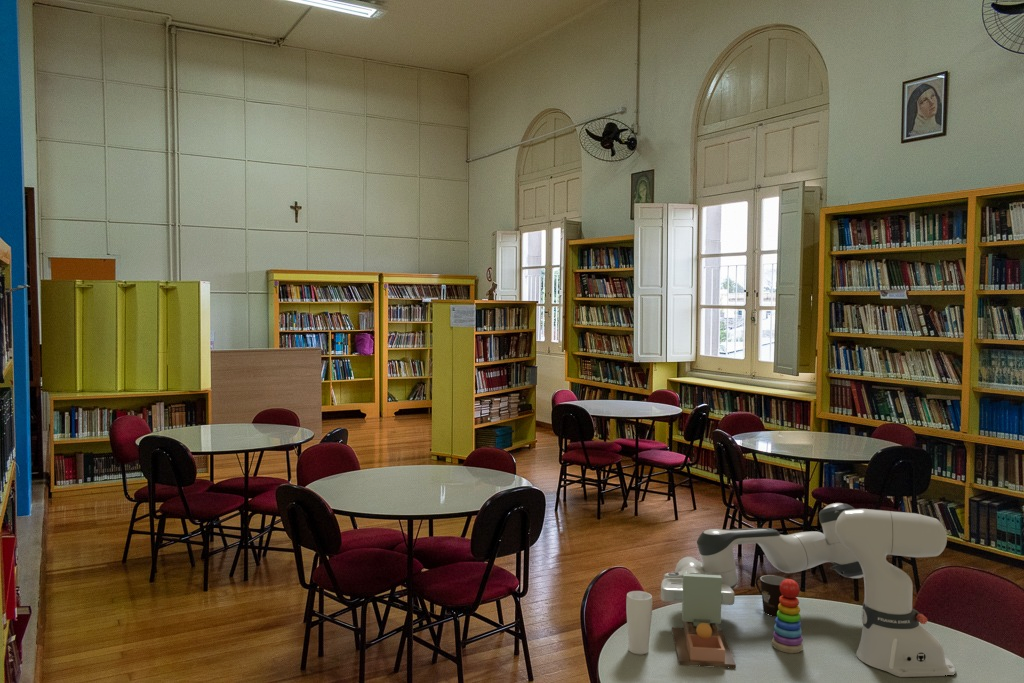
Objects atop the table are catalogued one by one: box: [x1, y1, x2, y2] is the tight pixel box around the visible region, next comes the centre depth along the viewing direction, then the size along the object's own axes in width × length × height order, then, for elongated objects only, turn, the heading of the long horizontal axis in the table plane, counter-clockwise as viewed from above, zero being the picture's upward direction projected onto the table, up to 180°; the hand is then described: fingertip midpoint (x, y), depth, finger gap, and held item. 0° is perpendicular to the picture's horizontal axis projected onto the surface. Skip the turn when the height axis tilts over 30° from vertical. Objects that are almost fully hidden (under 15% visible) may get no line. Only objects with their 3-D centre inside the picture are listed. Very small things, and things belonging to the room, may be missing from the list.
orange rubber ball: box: [696, 623, 712, 639], centre depth 194 cm, size 4×4×4 cm
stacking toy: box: [771, 578, 804, 654], centre depth 198 cm, size 8×8×19 cm
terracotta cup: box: [686, 634, 725, 664], centre depth 191 cm, size 9×9×4 cm
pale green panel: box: [681, 574, 722, 627], centre depth 199 cm, size 10×2×14 cm, turn 83°
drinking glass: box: [625, 590, 653, 656], centre depth 195 cm, size 7×7×15 cm
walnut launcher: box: [671, 621, 737, 669], centre depth 197 cm, size 14×21×6 cm, turn 173°
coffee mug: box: [755, 574, 788, 617], centre depth 224 cm, size 12×9×10 cm
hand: (700, 603), depth 200 cm, fingers closed
